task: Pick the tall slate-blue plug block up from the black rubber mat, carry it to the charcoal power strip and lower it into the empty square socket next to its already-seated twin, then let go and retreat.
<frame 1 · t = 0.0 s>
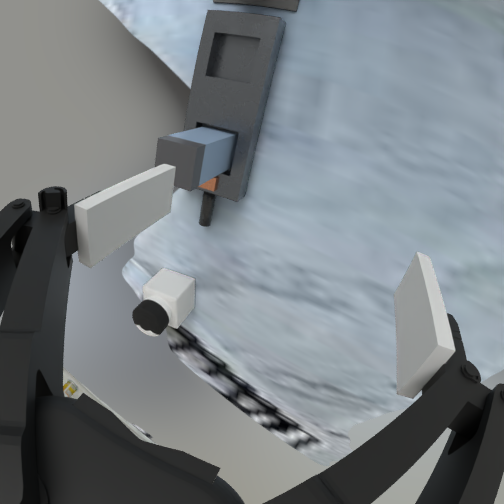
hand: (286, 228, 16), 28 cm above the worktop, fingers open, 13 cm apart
medicine bottle: (179, 286, 60), on the worktop
twin plug: (219, 146, 43), point 1 cm above the worktop, touching strip
strip: (230, 102, 40), on the worktop
supplement bottle: (73, 384, 111), on the worktop
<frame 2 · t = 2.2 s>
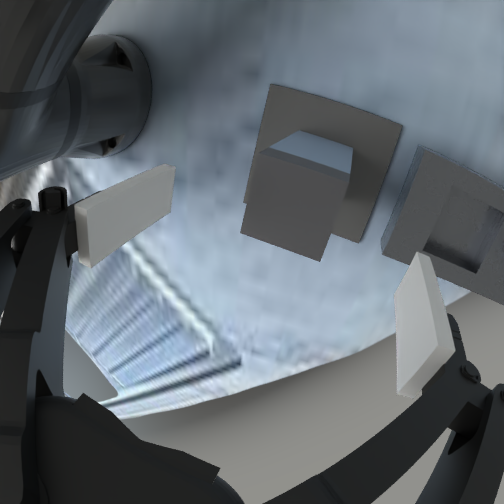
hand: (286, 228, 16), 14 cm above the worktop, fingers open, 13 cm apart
mat: (319, 163, 27), on the worktop
plug: (318, 164, 27), resting on mat
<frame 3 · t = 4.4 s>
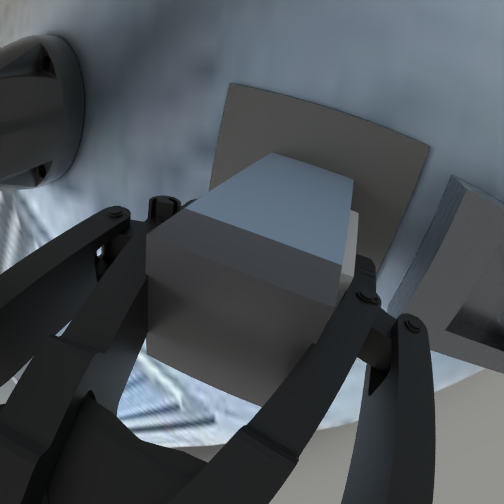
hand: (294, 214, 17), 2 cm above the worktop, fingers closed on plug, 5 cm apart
mat: (302, 201, 19), on the worktop
plug: (301, 203, 19), resting on mat, touching gripper
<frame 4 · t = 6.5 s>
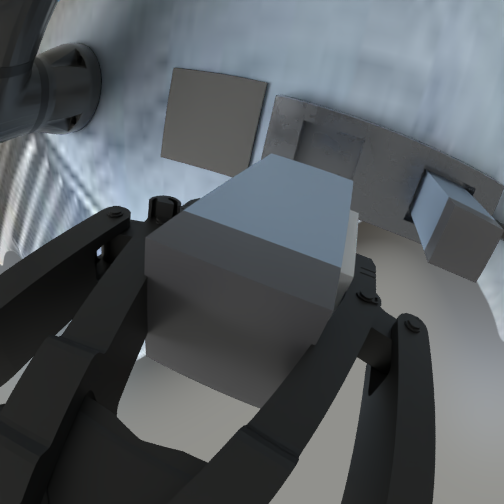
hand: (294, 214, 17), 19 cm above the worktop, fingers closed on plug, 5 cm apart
mat: (209, 121, 35), on the worktop
twin plug: (436, 198, 30), point 1 cm above the worktop, touching strip
plug: (300, 204, 19), point 17 cm above the worktop, touching gripper
strip: (383, 174, 32), on the worktop
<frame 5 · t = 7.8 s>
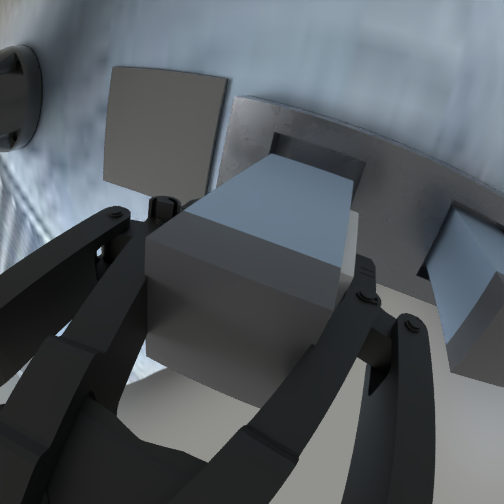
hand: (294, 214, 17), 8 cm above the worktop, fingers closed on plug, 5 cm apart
mat: (155, 134, 26), on the worktop
twin plug: (462, 242, 21), point 1 cm above the worktop, touching strip
plug: (300, 204, 19), point 6 cm above the worktop, touching gripper
strip: (391, 208, 23), on the worktop
when the fingers open (4 cm above the worktop, at t = 8.8 s): plug stays where it is, resting on strip.
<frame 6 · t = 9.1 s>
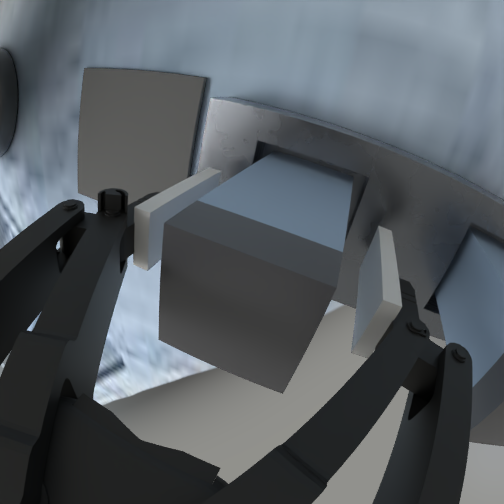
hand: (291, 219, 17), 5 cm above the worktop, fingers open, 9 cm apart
mat: (129, 142, 23), on the worktop
twin plug: (477, 269, 17), point 1 cm above the worktop, touching strip
plug: (303, 199, 20), point 1 cm above the worktop, touching strip
strip: (397, 229, 19), on the worktop
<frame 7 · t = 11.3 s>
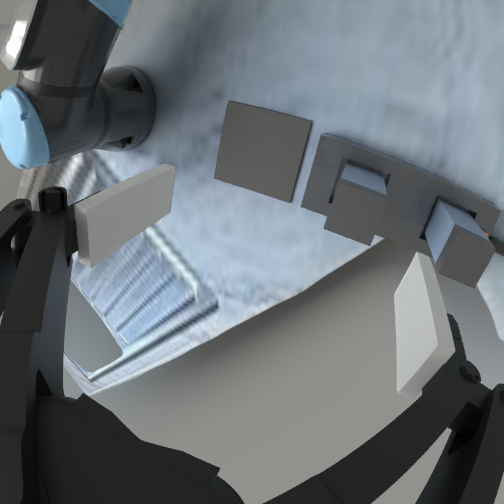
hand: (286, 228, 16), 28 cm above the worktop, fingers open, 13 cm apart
mat: (259, 150, 43), on the worktop
twin plug: (445, 220, 36), point 1 cm above the worktop, touching strip
plug: (359, 185, 39), point 1 cm above the worktop, touching strip
strip: (403, 200, 39), on the worktop
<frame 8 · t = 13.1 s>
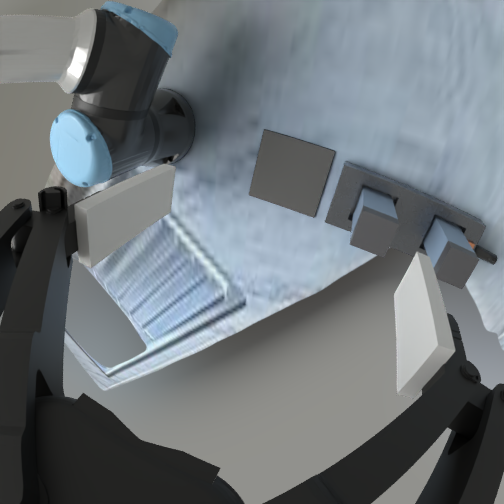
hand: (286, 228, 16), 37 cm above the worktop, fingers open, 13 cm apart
mat: (290, 173, 51), on the worktop
twin plug: (440, 233, 46), point 1 cm above the worktop, touching strip
plug: (372, 205, 48), point 1 cm above the worktop, touching strip
strip: (407, 217, 48), on the worktop
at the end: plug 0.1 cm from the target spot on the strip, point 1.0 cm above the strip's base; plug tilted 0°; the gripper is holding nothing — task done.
